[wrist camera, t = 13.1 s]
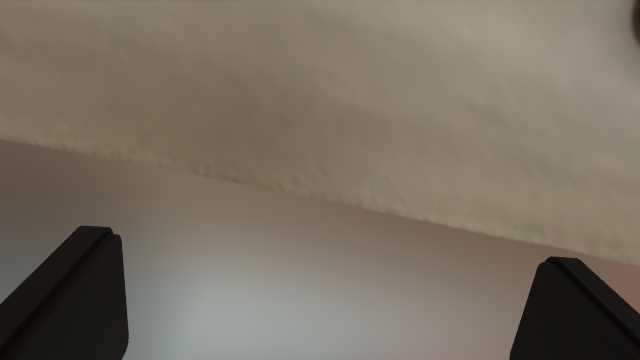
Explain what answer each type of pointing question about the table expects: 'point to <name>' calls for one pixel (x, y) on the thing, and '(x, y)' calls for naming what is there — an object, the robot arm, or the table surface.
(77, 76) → the table surface
